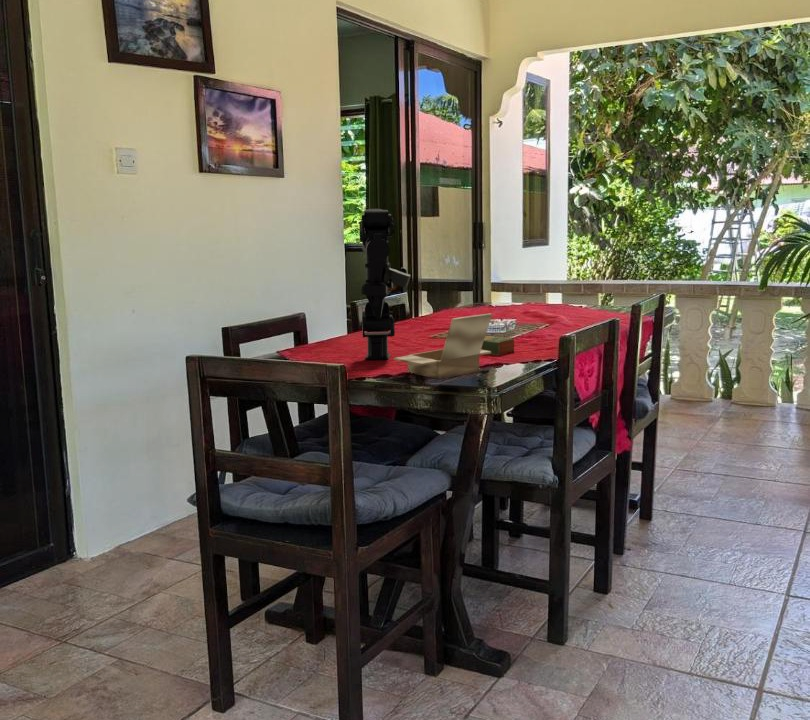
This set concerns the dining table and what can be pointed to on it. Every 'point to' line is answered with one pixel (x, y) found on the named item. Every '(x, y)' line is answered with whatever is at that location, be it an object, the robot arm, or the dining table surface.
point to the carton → (498, 345)
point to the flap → (465, 336)
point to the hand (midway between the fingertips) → (378, 318)
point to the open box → (441, 364)
